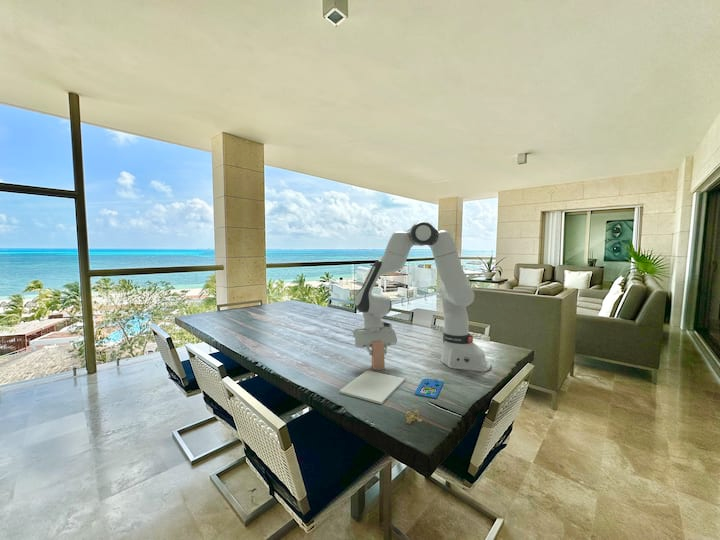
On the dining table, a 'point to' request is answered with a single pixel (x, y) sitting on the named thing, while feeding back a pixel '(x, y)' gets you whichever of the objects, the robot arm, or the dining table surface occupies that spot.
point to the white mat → (372, 386)
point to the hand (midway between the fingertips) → (378, 354)
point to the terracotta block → (378, 355)
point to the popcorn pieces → (412, 417)
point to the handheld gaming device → (429, 388)
